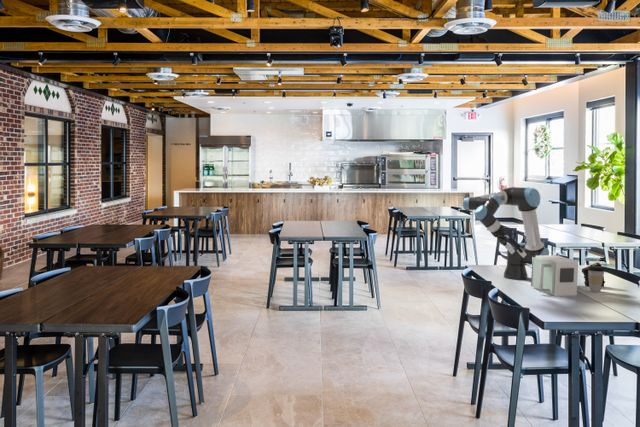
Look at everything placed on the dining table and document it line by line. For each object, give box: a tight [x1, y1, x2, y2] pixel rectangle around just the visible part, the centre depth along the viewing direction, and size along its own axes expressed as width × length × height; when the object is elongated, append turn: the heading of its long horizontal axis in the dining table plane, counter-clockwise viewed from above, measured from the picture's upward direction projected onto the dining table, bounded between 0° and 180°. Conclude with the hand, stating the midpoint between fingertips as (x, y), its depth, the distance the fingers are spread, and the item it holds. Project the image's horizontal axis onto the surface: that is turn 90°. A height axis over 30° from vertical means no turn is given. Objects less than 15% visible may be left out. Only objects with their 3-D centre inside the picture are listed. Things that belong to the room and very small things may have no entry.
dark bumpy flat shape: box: [581, 262, 606, 288], centre depth 348 cm, size 4×13×15 cm, turn 86°
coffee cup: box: [587, 265, 605, 294], centre depth 333 cm, size 9×9×15 cm
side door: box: [530, 257, 555, 295], centre depth 330 cm, size 23×7×18 cm, turn 9°
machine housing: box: [533, 254, 579, 297], centre depth 331 cm, size 23×14×20 cm, turn 9°
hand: (519, 254), depth 322 cm, fingers open, 13 cm apart
